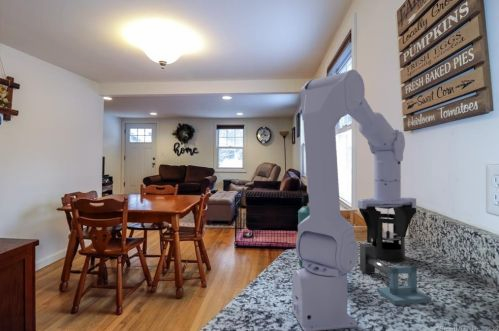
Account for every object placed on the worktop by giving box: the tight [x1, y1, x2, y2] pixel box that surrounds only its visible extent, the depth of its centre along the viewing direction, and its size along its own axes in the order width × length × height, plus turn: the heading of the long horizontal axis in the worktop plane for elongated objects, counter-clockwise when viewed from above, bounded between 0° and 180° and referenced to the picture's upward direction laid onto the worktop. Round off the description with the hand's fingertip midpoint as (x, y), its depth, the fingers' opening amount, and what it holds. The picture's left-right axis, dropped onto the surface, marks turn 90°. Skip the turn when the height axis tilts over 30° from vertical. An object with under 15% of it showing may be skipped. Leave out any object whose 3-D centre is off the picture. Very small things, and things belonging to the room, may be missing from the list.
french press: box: [366, 204, 407, 263], centre depth 88 cm, size 12×9×23 cm
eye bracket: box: [376, 264, 432, 306], centre depth 62 cm, size 6×8×6 cm
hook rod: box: [359, 243, 400, 278], centre depth 71 cm, size 13×3×7 cm, turn 8°
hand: (387, 237), depth 71 cm, fingers open, 7 cm apart
